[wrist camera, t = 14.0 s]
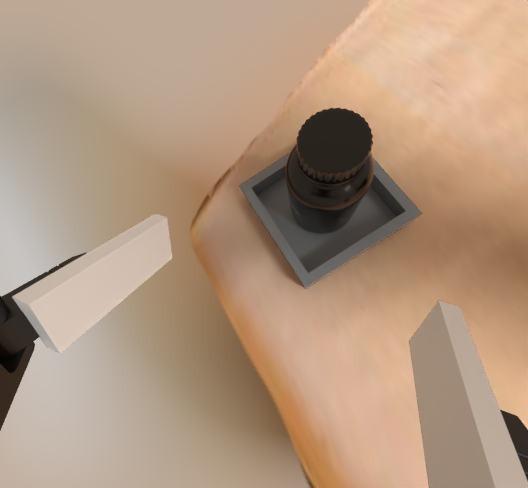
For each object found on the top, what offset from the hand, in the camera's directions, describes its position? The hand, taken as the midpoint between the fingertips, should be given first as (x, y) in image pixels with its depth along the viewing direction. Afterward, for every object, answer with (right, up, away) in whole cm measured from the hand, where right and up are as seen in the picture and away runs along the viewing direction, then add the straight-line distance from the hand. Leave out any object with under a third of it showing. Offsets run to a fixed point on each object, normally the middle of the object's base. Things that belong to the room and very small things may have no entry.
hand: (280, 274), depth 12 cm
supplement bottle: (+6, +6, +15) cm, 17 cm away
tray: (+6, +6, +16) cm, 18 cm away
